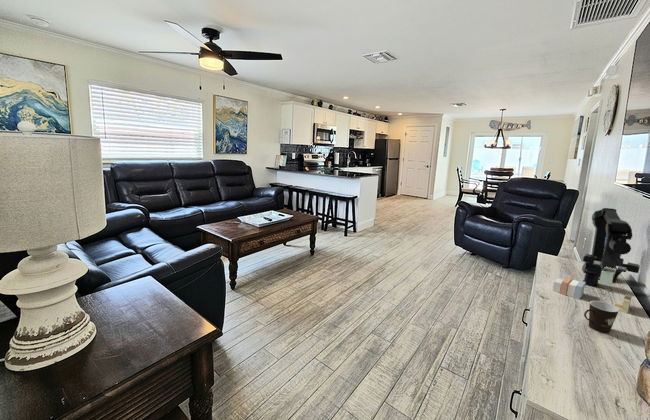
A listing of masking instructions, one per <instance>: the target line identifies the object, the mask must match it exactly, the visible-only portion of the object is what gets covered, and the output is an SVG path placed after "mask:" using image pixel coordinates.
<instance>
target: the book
mask: <svg viewBox="0 0 650 420" xmlns="http://www.w3.org/2000/svg"><path fill="white" fill-rule="evenodd" d="M615 272H616V268H612V269H611V268H607V267H604V269H603V270H602V271H601V276H600V280H598V283H599V285H603V286H607V287H612V285H613V283H614V282H612V281H613V278H614V275H615Z"/></svg>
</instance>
